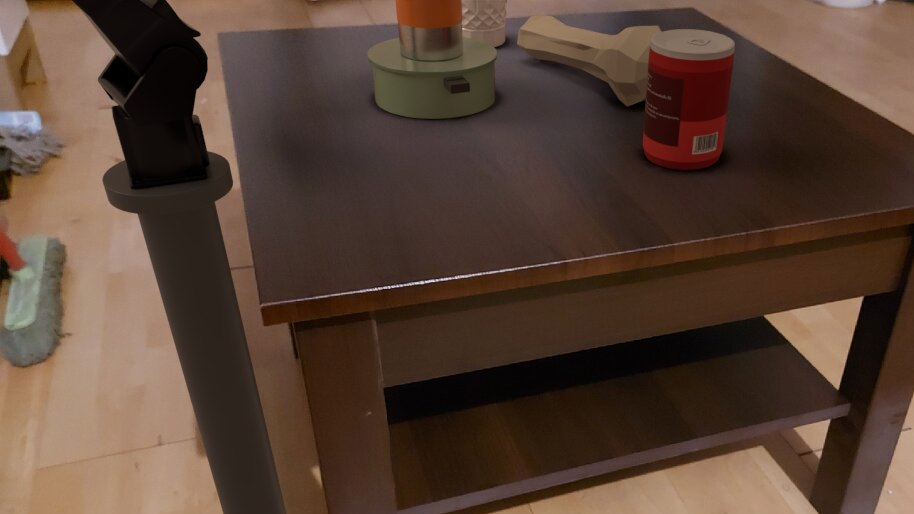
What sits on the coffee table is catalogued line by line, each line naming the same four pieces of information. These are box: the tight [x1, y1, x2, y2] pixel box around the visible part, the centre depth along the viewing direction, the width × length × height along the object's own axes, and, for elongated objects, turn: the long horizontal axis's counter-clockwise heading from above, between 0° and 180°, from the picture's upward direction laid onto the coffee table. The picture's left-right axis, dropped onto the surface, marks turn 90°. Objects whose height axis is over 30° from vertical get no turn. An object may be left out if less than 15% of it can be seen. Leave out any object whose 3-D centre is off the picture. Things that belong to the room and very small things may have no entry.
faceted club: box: [516, 14, 663, 108], centre depth 101 cm, size 9×8×25 cm
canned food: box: [642, 28, 736, 171], centre depth 82 cm, size 8×8×11 cm
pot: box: [366, 37, 498, 120], centre depth 94 cm, size 14×17×5 cm
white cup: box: [461, 0, 508, 48], centre depth 111 cm, size 8×8×10 cm
